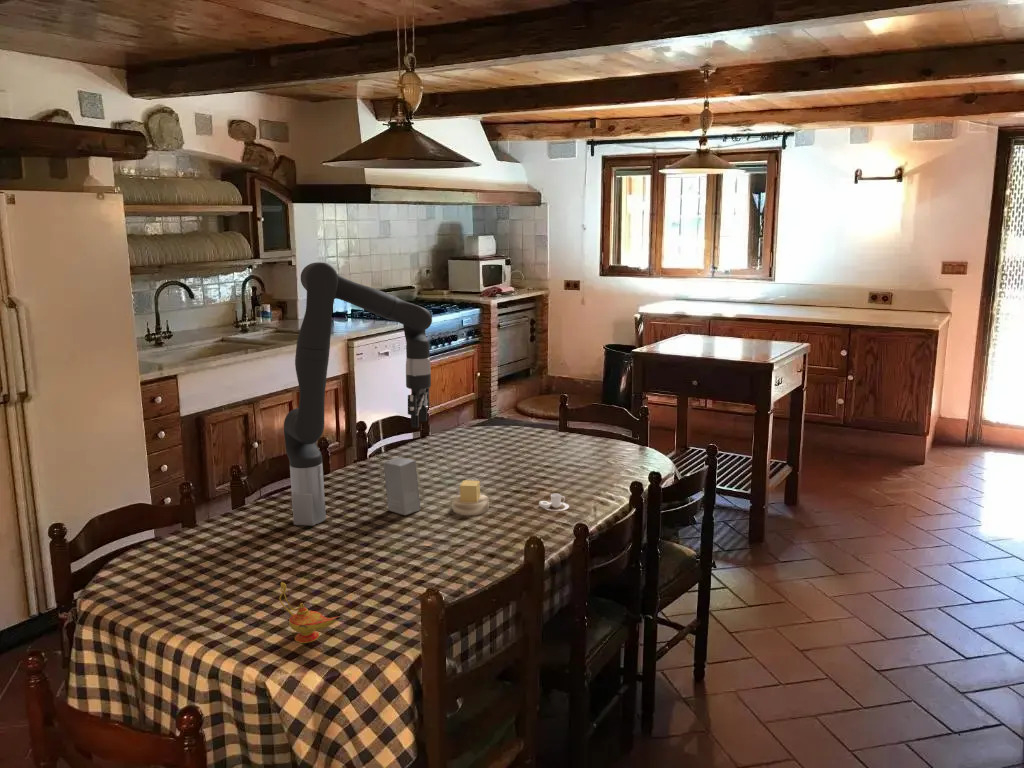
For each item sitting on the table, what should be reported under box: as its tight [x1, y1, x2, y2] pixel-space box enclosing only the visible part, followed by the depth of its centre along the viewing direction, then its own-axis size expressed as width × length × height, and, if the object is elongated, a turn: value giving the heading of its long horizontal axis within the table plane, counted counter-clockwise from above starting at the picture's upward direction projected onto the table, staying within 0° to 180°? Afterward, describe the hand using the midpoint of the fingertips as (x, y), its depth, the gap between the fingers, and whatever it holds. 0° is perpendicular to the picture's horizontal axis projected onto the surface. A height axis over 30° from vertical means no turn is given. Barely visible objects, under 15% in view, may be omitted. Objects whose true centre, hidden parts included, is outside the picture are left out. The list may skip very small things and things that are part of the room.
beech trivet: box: [451, 493, 490, 516], centre depth 248 cm, size 11×11×3 cm
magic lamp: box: [278, 581, 345, 644], centre depth 171 cm, size 7×18×11 cm, turn 60°
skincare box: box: [382, 456, 421, 516], centre depth 246 cm, size 8×7×16 cm
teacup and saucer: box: [538, 492, 570, 512], centre depth 249 cm, size 9×8×4 cm
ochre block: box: [459, 479, 481, 502], centre depth 247 cm, size 5×5×5 cm
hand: (419, 424), depth 252 cm, fingers open, 8 cm apart
